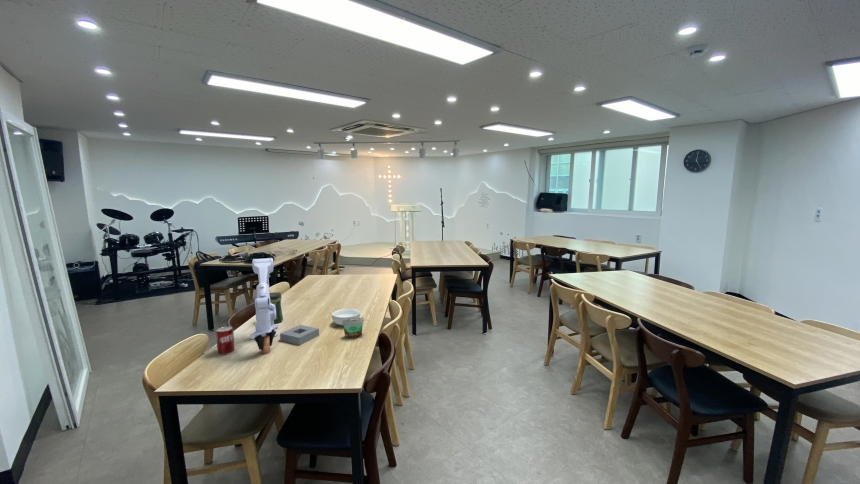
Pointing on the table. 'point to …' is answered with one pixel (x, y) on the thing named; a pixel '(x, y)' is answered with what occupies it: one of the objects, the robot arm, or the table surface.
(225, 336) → the soda can
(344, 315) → the cereal bowl
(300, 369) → the table surface
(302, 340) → the socket
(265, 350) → the peg
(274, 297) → the coffee jar
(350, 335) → the food container
